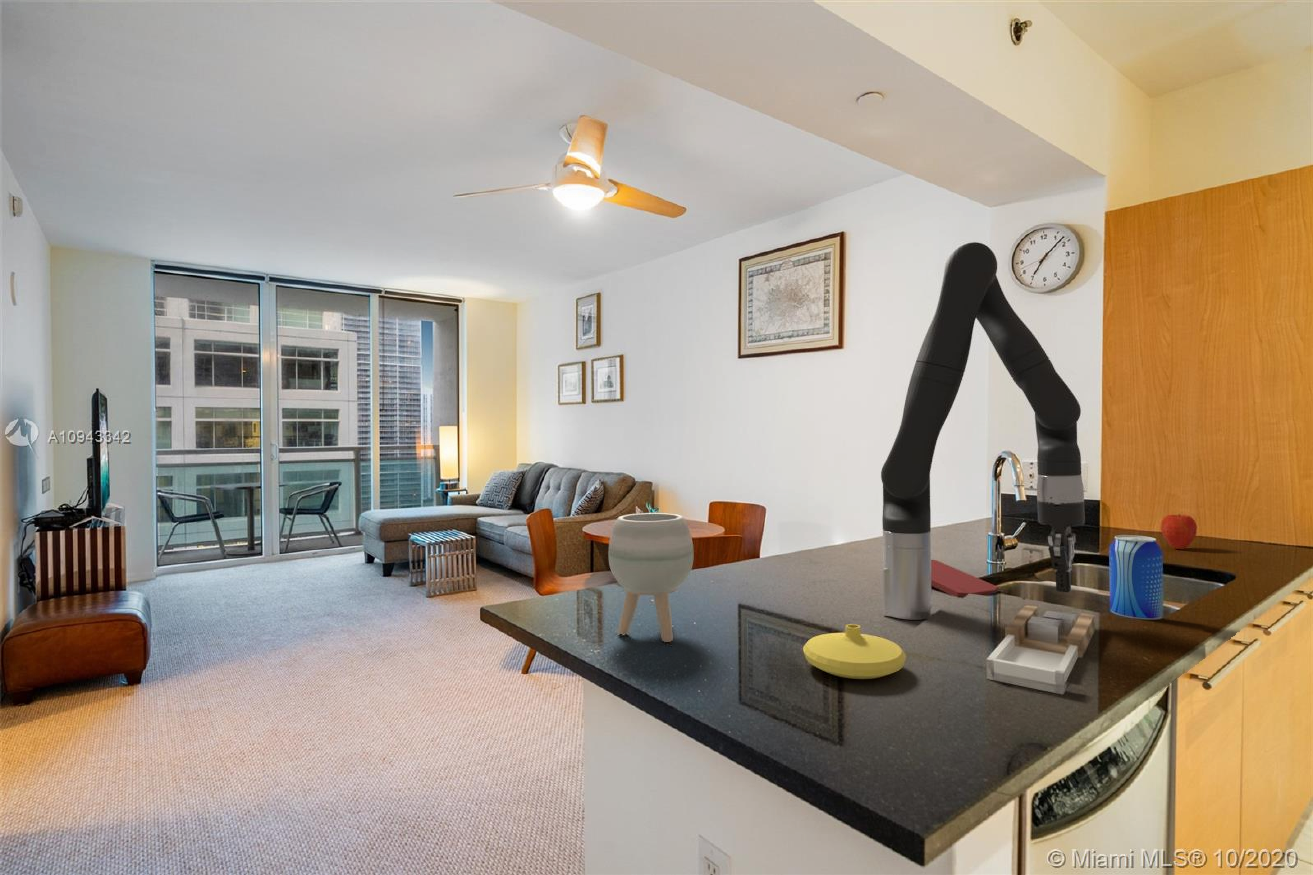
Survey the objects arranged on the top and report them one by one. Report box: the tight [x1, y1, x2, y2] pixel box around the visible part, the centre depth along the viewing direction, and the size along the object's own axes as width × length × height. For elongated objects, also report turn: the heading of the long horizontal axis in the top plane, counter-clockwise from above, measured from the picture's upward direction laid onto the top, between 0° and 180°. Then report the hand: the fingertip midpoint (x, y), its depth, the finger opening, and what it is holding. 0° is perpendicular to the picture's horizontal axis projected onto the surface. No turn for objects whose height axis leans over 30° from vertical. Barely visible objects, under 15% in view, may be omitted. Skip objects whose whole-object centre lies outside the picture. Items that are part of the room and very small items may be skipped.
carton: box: [931, 559, 998, 598], centre depth 160 cm, size 12×5×25 cm
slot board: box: [1004, 605, 1096, 659], centre depth 115 cm, size 18×11×4 cm, turn 141°
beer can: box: [1108, 534, 1164, 620], centre depth 128 cm, size 8×8×16 cm
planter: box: [607, 512, 694, 643], centre depth 124 cm, size 16×16×22 cm
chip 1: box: [1028, 616, 1062, 644], centre depth 114 cm, size 4×4×3 cm
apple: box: [1160, 513, 1198, 550], centre depth 197 cm, size 9×8×11 cm
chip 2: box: [1042, 610, 1077, 637], centre depth 117 cm, size 4×4×3 cm
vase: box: [802, 623, 907, 680], centre depth 105 cm, size 16×16×7 cm
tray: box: [986, 634, 1079, 695], centre depth 102 cm, size 15×10×3 cm, turn 141°
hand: (1063, 591), depth 123 cm, fingers closed
